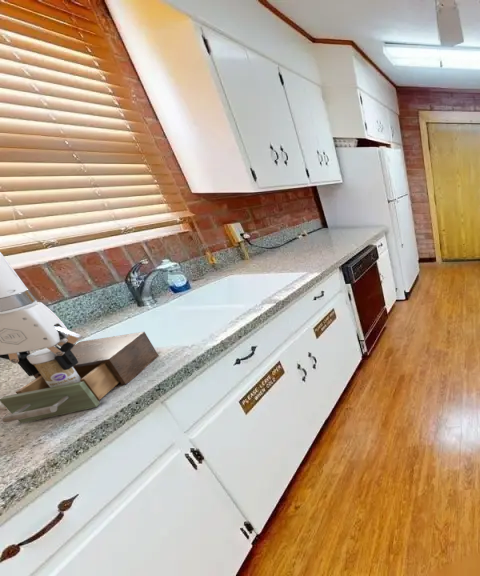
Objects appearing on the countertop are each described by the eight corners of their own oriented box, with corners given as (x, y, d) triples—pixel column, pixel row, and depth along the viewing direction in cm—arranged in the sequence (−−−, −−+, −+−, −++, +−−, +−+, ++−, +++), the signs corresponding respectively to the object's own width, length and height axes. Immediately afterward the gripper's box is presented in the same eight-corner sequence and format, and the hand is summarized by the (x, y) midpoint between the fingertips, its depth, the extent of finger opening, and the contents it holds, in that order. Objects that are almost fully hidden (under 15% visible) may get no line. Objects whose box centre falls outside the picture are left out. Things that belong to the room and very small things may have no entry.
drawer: (80, 422, 69) (61, 398, 66) (-3, 440, 64) (-27, 416, 61) (133, 373, 84) (119, 352, 81) (70, 385, 80) (53, 364, 77)
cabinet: (127, 385, 81) (108, 359, 77) (53, 400, 76) (30, 372, 72) (159, 355, 93) (144, 331, 89) (97, 366, 88) (79, 341, 84)
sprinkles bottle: (64, 404, 72) (29, 359, 67) (57, 399, 74) (22, 354, 68) (94, 391, 76) (63, 348, 71) (86, 387, 77) (55, 344, 72)
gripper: (-85, 318, 58) (-18, 389, 65) (44, 303, 64) (93, 369, 71) (-41, 302, 64) (16, 369, 71) (74, 290, 70) (115, 352, 77)
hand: (54, 368), depth 71 cm, fingers closed on sprinkles bottle, 4 cm apart
